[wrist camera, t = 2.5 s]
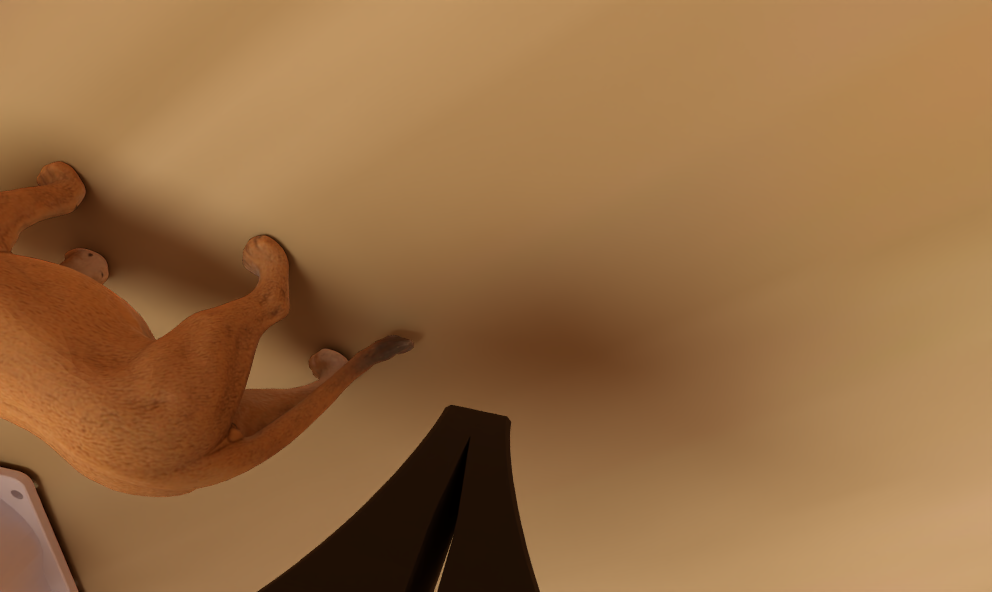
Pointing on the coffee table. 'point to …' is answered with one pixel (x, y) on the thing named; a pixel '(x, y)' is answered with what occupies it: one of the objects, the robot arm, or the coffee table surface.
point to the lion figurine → (147, 364)
